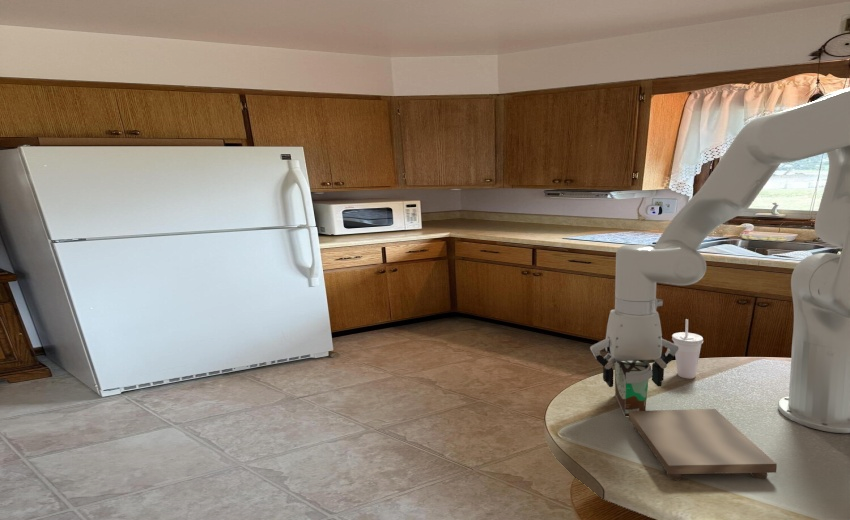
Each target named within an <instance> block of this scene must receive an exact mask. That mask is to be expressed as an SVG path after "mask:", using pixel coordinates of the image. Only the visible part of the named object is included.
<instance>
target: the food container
mask: <svg viewBox="0 0 850 520" xmlns="http://www.w3.org/2000/svg"><path fill="white" fill-rule="evenodd" d="M650 379H652V365H651V364H650V362H649V360H639V361H617V362H616V363H615V364H614V394H615V398H616V400H617V402H618V404H619V407H620V410H621V411H622V413H624V414H623V416H624V415H625V416H629V411H647V410H646V408H647V399H648V398H647V397H648V388H649V387H648V386H649V380H650ZM625 416H624V417H625Z"/></svg>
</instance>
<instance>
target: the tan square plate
mask: <svg viewBox="0 0 850 520" xmlns="http://www.w3.org/2000/svg"><path fill="white" fill-rule="evenodd" d="M628 420H630V422H631V423H632V425H633V429H634V431H635V432H638V433H639V435H640V436H641V438H642V439H643V440H644V442H645V443H646V445H647V446H648V447H649V449H650V450H651V451H652V453H653V454H654V456H655V457H656V458H657V460H658V461H659V463H660V465H661V466H662V467H663V468H664V470H665V471H666V476H667V478H668V479H670V480H671V481H680V480H681V479H682V475H687V474H688V475H691V474H693V475H695V474H696V475H697V474H702V475H704V474H705V475H707V474H751V476H752V477H754V478H756V479H759V480H766V479H768V473H771V474H775V473H777V467H778V465H777V462H775V461H774V460H773V459H772V458H771V457H770V456H768V455H767V454H766V453H765V452H764V451H763V450H762V449H761V448H760V447H759V446H757V444H755V443H754V442H753V441H752V440H751V439H750V438H748V436H747V435H745V434H744V433H743V432H742V431H740V430H739V429H738V428H737V427H736V426H735V425H734V424H733V423H732V422H731V421H730V420H728V419H727V418H726V417H725V416H724V415H723V414H722V413H720V412H719V411H718V409H717V408H701V409H700V408H699V409H696V408H695V409H694V408H693V409H660V410H659V409H657V410H645V411H629V417H628Z"/></svg>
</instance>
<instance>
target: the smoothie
mask: <svg viewBox="0 0 850 520" xmlns="http://www.w3.org/2000/svg"><path fill="white" fill-rule="evenodd" d="M684 326H685V329H684V330H685V331H682V332H681V331H680V332H675V333H673V334H672V335H671V337H672V338H671V340H672V341H673V344H675V345H676V346H678V350H677V352H676V354H675V355H674V356H675V364H676V365H675V366H676V372H677V375H678V376H679V377H681V378H683V379H694V378H696V376H697V375H696V374H697V369H698V364H699V359H700V353H701V348H702V344H703V343H704V338H703V336H702V335H700V334H698V333H692V332H689V318H688V319H687V318H686V319H685V325H684Z"/></svg>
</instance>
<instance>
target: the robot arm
mask: <svg viewBox="0 0 850 520" xmlns="http://www.w3.org/2000/svg"><path fill="white" fill-rule="evenodd" d="M823 154H827V157H828V173H827V176H826V177H827V178H826V182H825V185H824V188H823V193H822V196H821V199H820V203H819V206H818V209H817V213H816V217H815V220H814V221H815V222H814V231H815V233H816V235H817V237H818V238H819V239H820V240H821V241H823V242H824V243H825V244H829V245H831V246H834V247H838V248H842V249H841V253H832V252H821V253H820V252H819V253H814V254H811V255H809V256H807V257H805V258H804V259H801V260H800V261H799V262H798V263H797V264H796V266H795V267H794V269H793V271H792V273H791V279H790V287H791V288H790V290H791V297H792V304H793V327H792V328H793V331H792V342H791V343H792V344H791V357H790V358H791V359H790V361H791V362H790V370H789V371H790V374H789V387H788V395H787V396H785V397H782V398H780V399H779V401H778V403H777V404H778V405H777V409H778V411H779V412H780V413H781V414H782V415H783V416H784V417H786V418H788V419H789V420H791V421H793V422H795V423H797V424H800V425H802V426H804V427H807V428H811V429H815V430H818V431H822V432H823V431H824V432H828V433H833V434H850V86H849V87H847V88H842V89H839V90H836V91H832V92H829V93H827V94H824V95H823V96H819V98H816V99H815V100H814V101H812V102H808V103H806V104H802V105H799V106H796V107H793V108H788V109H785V110H782V111H777V112H774V113H771V114H767V115H763V116H760V117H757V118H755V119H752V120H751V121H749V122H747V124H746V125H745V126H743V128H742V129H741V130H740V131H739V133H738V134H737V135H736V137H735V138H734V139H733V141H732V143H731V144H730V145H729V146H728V148H727V150H726V151H725V152H724V154H723V155H722V157H721V159H720V160H719V162H718V163H717V164H716V166H715V167H714V169H713V171H711V173H710V175H709V176H708V178H707V179H706V180H705V182H704V183H703V185H702V186H701V187H700V188H699V190H698V191H697V192H696V193H695V194H694V195H692V197H691V198H690V199H689V201H688V202H687V203H686V204H685V205H684V206H683V207H682V208H681V209H680V210H679V211H678V212H677V214H676V215H675V216H674V217H673V218H672V220H671V221H670V222H669V224H668V225H667V227H665V229H664V231H663V232H662V234H661V235H660V236H659V238H658V240H657V241H656V242H655V245H654V246H650V245H644V244H627V245H626V244H624V245H623V246H622V245H621V246H620V247H618V249H617V250H616V252H615V253H616V254H615V281H614V282H615V284H614V285H615V286H614V287H615V288H614V291H615V292H614V309H611V310H610V311H609V315H608V320H607V325H606V333H605V339H603V340H600V341H598V342H597V343H594V344H592V345H590V347H589V349H590V351H591V353H592V354H593V356H594V358H595V360H596V361H597V362H598V363H600V365H602V379H603V382H605V383H606V385H607V386H608V387H609V388H613V387H614V375H615V370H614V369H613V366H615V363H616V362H617V361H639V360H647V361H654V362H653V363H652V365H651V369H652V377H651V381H652V382H653V383H654V384H655V385H656V386H657V387H662V385H663V384H662V382H663V381H664V378H665V376H664V374H665V369H666V368H667V366H668V364H670V362H672V360H673V359H674V356H675V354H676V352H677V350H678V346H676V345H675V344H674V342H671V341H669V340H667V339H664V338H663V337H662V336H663V333H662V332H663V331H662V326H661V319H660V314H659V312H658V311H657V309H658V307H662V306H663V305H664V304H663V299H658V298H657V283H659V284H666V285H673V286H690V285H693V284H696V283H698V282H699V281H701V280H702V279H703V277H704V276H705V274H706V272H707V262H706V259H705V257H704V256H703V255H702V254H701V252H699V251H698V249H699V247H700V246H701V244H702V243H703V242H704V241H705V239H707V237H708V236H709V235H711V233H713V231H714V230H716V229H717V228H718V227H720V226H721V225H722V224H724V223H726V222H728V221H730V220H732V219H733V218H734V219H735V218H736V217H738V216H740V215H741V214H743V213H745V212H746V211H747V210H748V209H749V208H750V206H751V205H752V204H753V202H754V201H755V200H756V198H757V197H758V195H760V193H761V191H762V190H763V188H764V187H765V186H766V184H767V183H768V182H769V180H770V178H772V176H773V175H774V174H775V172H776V171H777V170H778V168H779V166H780V165H781V164H786V163H794V162H798V161H801V160H805V159H809V158H814V157H816V156H820V155H823ZM663 347H664V348H667V349H666V351H665V352H664V353H663ZM604 349H605V352H607V353H606V355H604V356H603V355H602V354H601V351H602V350H604ZM673 361H674V360H673Z"/></svg>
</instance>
